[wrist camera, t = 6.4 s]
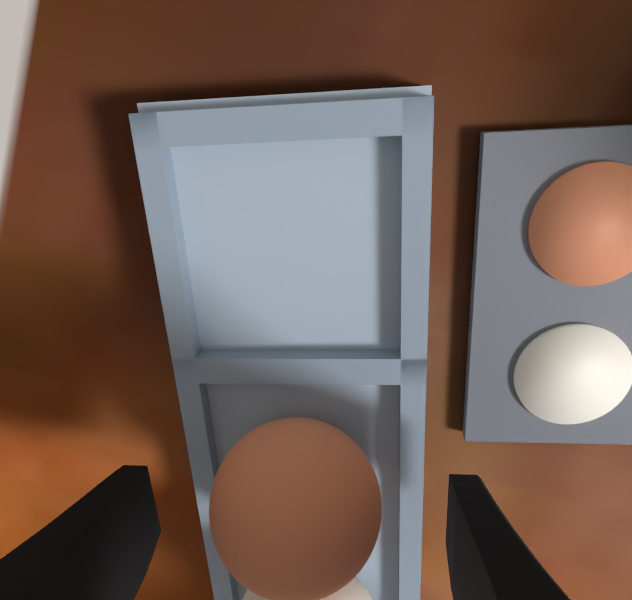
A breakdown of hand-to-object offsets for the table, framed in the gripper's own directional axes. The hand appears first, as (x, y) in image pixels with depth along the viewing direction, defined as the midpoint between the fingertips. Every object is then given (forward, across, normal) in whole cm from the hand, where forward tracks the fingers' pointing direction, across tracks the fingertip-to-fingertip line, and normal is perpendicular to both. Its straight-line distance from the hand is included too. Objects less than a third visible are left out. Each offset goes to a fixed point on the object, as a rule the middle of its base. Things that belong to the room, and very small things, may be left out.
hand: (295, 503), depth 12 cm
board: (+3, 0, +1) cm, 3 cm away
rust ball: (+2, 0, 0) cm, 2 cm away
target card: (+3, -7, -4) cm, 8 cm away
